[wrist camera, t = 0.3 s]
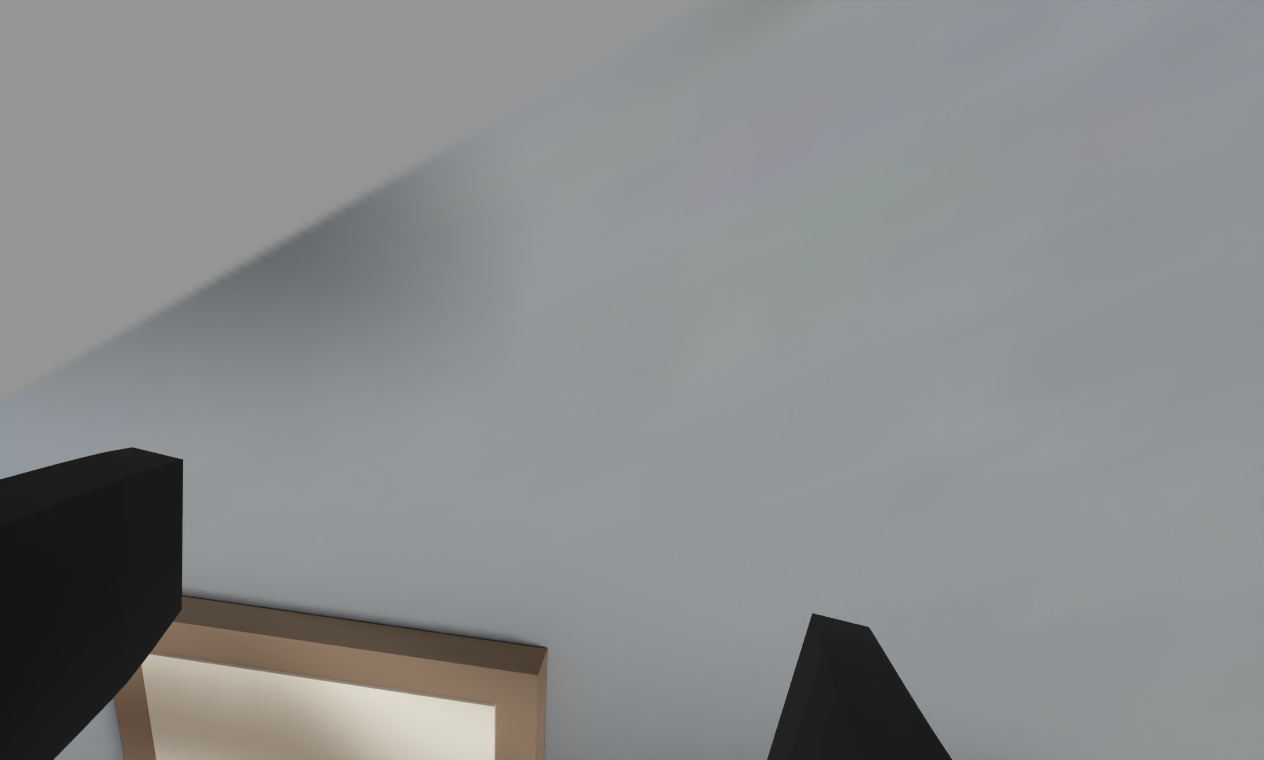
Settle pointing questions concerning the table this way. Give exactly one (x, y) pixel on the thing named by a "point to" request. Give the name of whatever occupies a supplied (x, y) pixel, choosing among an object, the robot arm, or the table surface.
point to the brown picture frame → (328, 691)
